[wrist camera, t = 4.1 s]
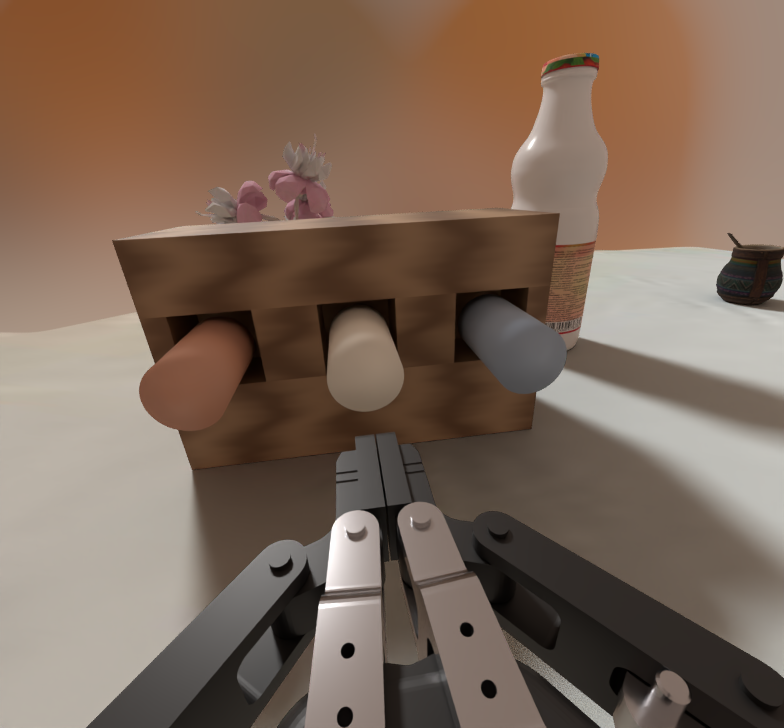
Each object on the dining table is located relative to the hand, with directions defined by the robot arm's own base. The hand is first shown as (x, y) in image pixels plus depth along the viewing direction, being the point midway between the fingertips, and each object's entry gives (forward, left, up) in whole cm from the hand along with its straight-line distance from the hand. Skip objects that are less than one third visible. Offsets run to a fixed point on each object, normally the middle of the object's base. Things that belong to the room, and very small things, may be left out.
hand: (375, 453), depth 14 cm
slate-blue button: (+3, +13, -2) cm, 13 cm away
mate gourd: (+33, +62, -9) cm, 70 cm away
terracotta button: (-12, +4, -2) cm, 13 cm away
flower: (-32, +39, -9) cm, 51 cm away
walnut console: (-8, +15, -9) cm, 19 cm away
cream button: (-5, +8, -2) cm, 10 cm away
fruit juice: (+5, +37, -9) cm, 38 cm away
